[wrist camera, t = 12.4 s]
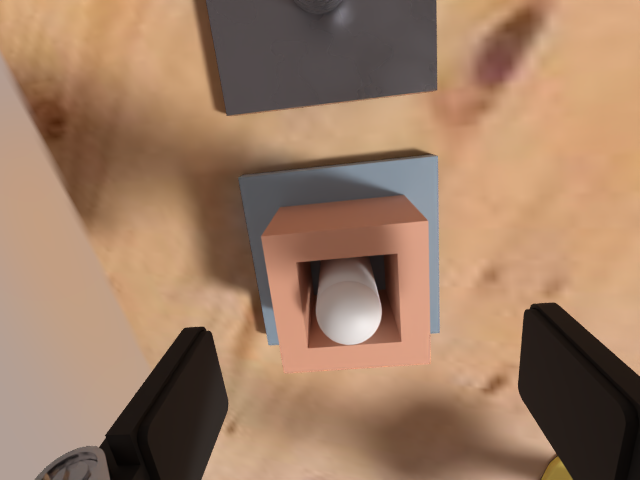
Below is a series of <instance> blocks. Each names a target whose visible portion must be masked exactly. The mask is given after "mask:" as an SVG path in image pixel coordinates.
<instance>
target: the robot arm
mask: <svg viewBox="0 0 640 480" xmlns="http://www.w3.org/2000/svg"><path fill="white" fill-rule="evenodd" d="M518 389H519V393H520V396H521V398H522V400H523V402H524V403H525V405H526V406H527V408H528V409H529V411H530V413H531V414H532V416H533V417H534V419H535V420H536V422H537V424H538V425H539V427H540V428H541V430H542V432H543V433H544V435H545V436H546V438H547V439H548V441H549V443H550V444H551V446H552V447H553V449H554V450H555V452H556V454H557V455H558V457H559V458H560V460H561V462H562V463H563V465H564V466H565V468H566V469H567V471H568V473H569V474H570V476H571V477H572V479H573V480H640V376H639V375H637V374H636V373H635V372H634V371H633V370H632V369H631V368H629V367H628V366H627V365H626V364H625V363H624V362H623V361H622V360H620V359H619V358H618V357H617V356H616V355H615V354H614V353H612V352H611V351H610V350H609V349H608V348H607V347H606V346H604V345H603V344H602V343H601V342H600V341H599V340H598V339H596V338H595V337H594V336H593V335H592V334H591V333H590V332H589V331H587V330H586V329H585V328H584V327H583V326H582V325H581V324H579V323H578V322H577V321H576V320H575V319H574V318H573V317H571V316H570V315H569V314H568V313H567V312H566V311H565V310H564V309H562V308H561V307H560V306H559V305H558V304H556V303H539V304H532V305H531V307H530V309H527V310H525V312H524V319H523V331H522V343H521V355H520V367H519V380H518ZM227 411H228V397H227V393H226V389H225V385H224V381H223V377H222V373H221V369H220V365H219V361H218V357H217V353H216V349H215V344H214V340H213V336H212V333H211V332H210V331H206V329H205V327H189V328H184V329H183V330H182V331H181V333H180V334H179V336H178V337H177V338H176V340H175V341H174V342H173V344H172V345H171V346H170V348H169V349H168V350H167V352H166V353H165V355H164V356H163V357H162V359H161V360H160V361H159V363H158V364H157V365H156V367H155V368H154V370H153V371H152V372H151V374H150V375H149V376H148V378H147V379H146V380H145V382H144V383H143V385H142V386H141V387H140V389H139V390H138V392H137V393H136V394H135V395H134V397H133V398H132V400H131V401H130V402H129V404H128V405H127V406H126V408H125V409H124V410H123V412H122V413H121V414H120V416H119V417H118V419H117V420H116V421H115V423H114V424H113V426H112V427H111V428H110V430H109V431H108V432H107V434H106V435H105V436H106V439H105V440H104V441H103V443H102V444H101V445H100V447H97V446H86V447H82V448H77V449H75V450H72V451H70V452H68V453H66V454H64V455H62V456H61V457H59V458H57V459H56V460H54V461H53V462H52V463H51V464H49V465H48V466H47V467H46V468H44V470H43V471H42V472H41V473H40V474H39V475H38V476H37V477H36V479H35V480H201V479H202V476H203V474H204V471H205V469H206V466H207V463H208V461H209V458H210V456H211V453H212V450H213V448H214V445H215V442H216V440H217V437H218V435H219V432H220V429H221V427H222V424H223V422H224V419H225V416H226V414H227Z"/></svg>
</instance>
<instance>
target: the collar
mask: <svg viewBox="0 0 640 480" xmlns="http://www.w3.org/2000/svg"><path fill="white" fill-rule="evenodd" d="M261 239H262V245H263V251H264V257H265V263H266V269H267V275H268V281H269V287H270V293H271V299H272V305H273V310H274V316H275V322H276V328H277V334H278V340H279V346H280V352H281V358H282V364H283V370H284V373H298V372H313V371H328V370H344V369H359V368H374V367H390V366H405V365H421V364H431V347H430V287H429V226H428V220H427V219H426V218H425V217H424V216H423V214H422V213H421V212H420V211H419V210H418V209H417V208H416V207H415V206H414V205H413V204H412V203H411V202H410V201H409V200H408V198H407V197H406V196H405V195H398V196H388V197H378V198H367V199H357V200H347V201H337V202H327V203H317V204H307V205H297V206H287V207H280V208H279V209H278V211H277V212H276V214H275V216H274V217H273V219H272V220H271V222H270V223H269V225H268V226H267V228H266V229H265V231H264V233H263V234H262V236H261ZM374 255H384V269H385V286H386V289H383V290H378V294H379V298H380V302H381V308H382V316H381V321H380V324H379V326H378V328H377V330H376V332H375V333H374V334H373V335H372V336H371V337H370V338H369V339H367V340H366V341H364V342H362V343H359V344H355V345H344V344H340V343H337V342H335V341H333V340H331V339H330V338H329V337H327V336H326V335H325V334H324V333H323V331H322V330H321V328H320V326H319V324H318V321H317V317H316V303H317V295H314V290H313V282H312V274H311V266H310V261H317V260H329V259H340V258H351V257H363V256H374Z"/></svg>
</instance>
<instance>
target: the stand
mask: <svg viewBox="0 0 640 480" xmlns="http://www.w3.org/2000/svg"><path fill="white" fill-rule="evenodd" d="M206 4H207V9H208V15H209V20H210V26H211V31H212V37H213V42H214V48H215V53H216V59H217V64H218V70H219V75H220V81H221V86H222V92H223V97H224V103H225V108H226V114H227V116H237V115H245V114H253V113H261V112H270V111H278V110H286V109H294V108H303V107H311V106H319V105H327V104H336V103H344V102H352V101H360V100H368V99H377V98H385V97H393V96H401V95H410V94H418V93H426V92H433V91H436V90H437V25H436V0H206Z"/></svg>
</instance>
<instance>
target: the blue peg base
mask: <svg viewBox="0 0 640 480" xmlns="http://www.w3.org/2000/svg"><path fill="white" fill-rule="evenodd" d="M238 180H239V185H240V191H241V196H242V202H243V207H244V213H245V218H246V224H247V229H248V235H249V240H250V246H251V251H252V257H253V262H254V267H255V273H256V278H257V284H258V289H259V295H260V300H261V306H262V311H263V317H264V322H265V328H266V333H267V339H268V344H269V345H279V340H278V334H277V328H276V322H275V316H274V310H273V305H272V299H271V293H270V287H269V281H268V275H267V269H266V263H265V257H264V251H263V245H262V239H261V236H262V234H263V233H264V231H265V229H266V228H267V226H268V225H269V223H270V222H271V220H272V219H273V217H274V216H275V214H276V212H277V211H278V209H279V208H280V207H287V206H297V205H307V204H317V203H327V202H337V201H347V200H357V199H367V198H378V197H388V196H398V195H405V196H406V197H407V198H408V200H409V201H410V202H411V203H412V204H413V205H414V206H415V207H416V208H417V209H418V210H419V211H420V212H421V213H422V214H423V216H424V217H425V218H426V219H427V220H428V226H429V287H430V334H432V333H440V322H439V223H438V156H436V155H433V154H430V155H421V156H412V157H402V158H393V159H384V160H375V161H366V162H357V163H347V164H338V165H329V166H320V167H311V168H302V169H292V170H283V171H274V172H265V173H256V174H247V175H242V176H240V177H238ZM310 266H311V274H312V282H313V290H314V295H317V303H316V317H317V321H318V324H319V326H320V328H321V330H322V331H323V333H324V334H325V335H326V336H327V337H329V338H330V339H331V340H333V341H335V342H337V343H340V344H344V345H355V344H359V343H362V342H364V341H366V340H367V339H369V338H370V337H371V336H372V335H373V334H374V333H375V332H376V330H377V328H378V326H379V324H380V321H381V316H382V308H381V302H380V298H379V294H378V290H383V289H386V286H385V269H384V255H374V256H363V257H351V258H340V259H329V260H317V261H310Z"/></svg>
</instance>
